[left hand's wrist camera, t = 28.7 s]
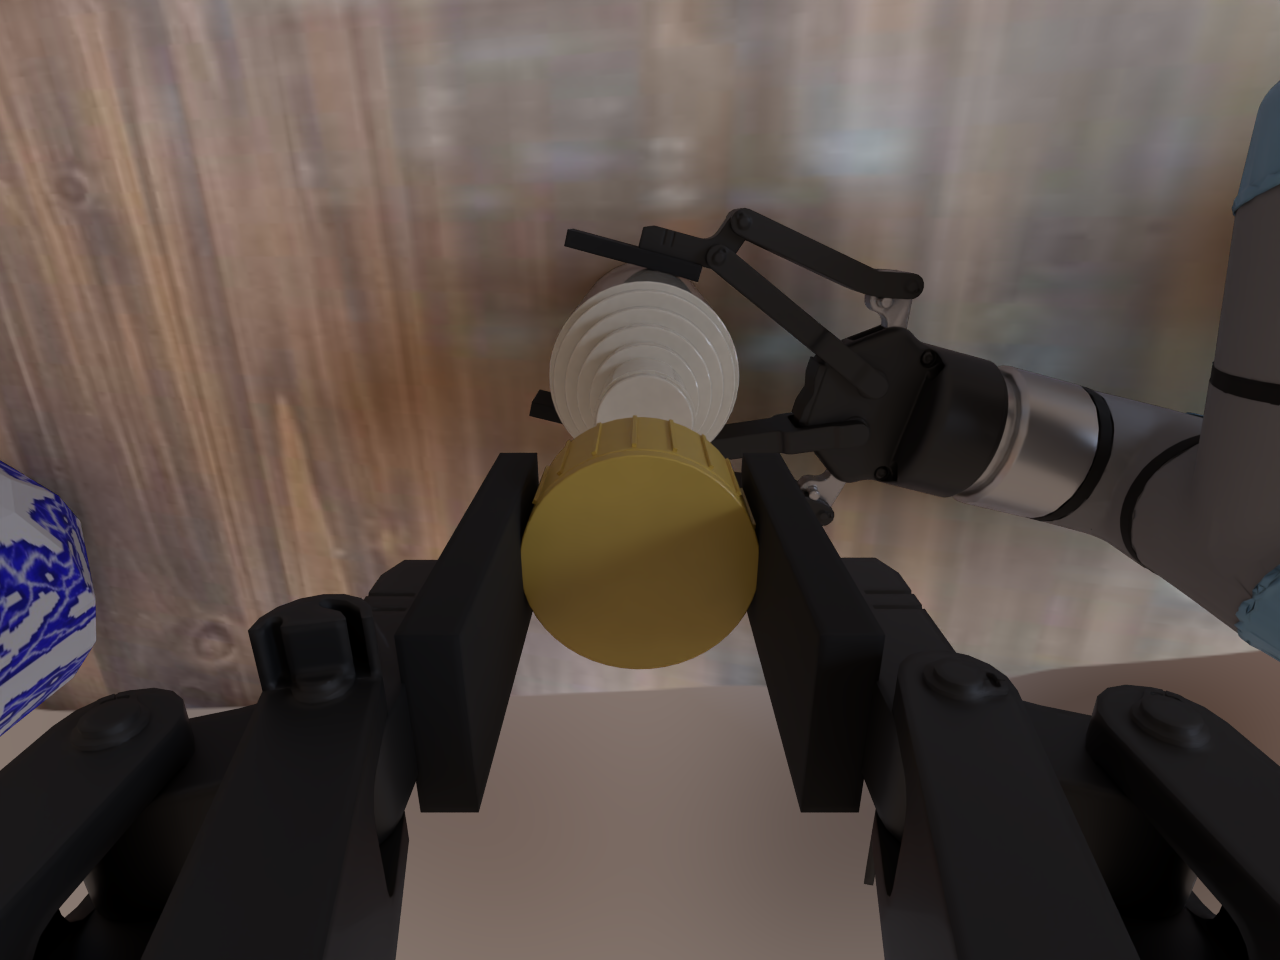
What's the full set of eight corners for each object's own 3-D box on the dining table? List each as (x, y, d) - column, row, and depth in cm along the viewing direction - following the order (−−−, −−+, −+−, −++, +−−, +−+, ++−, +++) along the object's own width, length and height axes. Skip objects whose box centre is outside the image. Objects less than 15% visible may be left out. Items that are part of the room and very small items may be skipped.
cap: (754, 417, 14) (776, 457, 11) (735, 608, 15) (751, 676, 13) (534, 408, 14) (513, 448, 11) (537, 601, 15) (519, 668, 13)
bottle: (661, 415, 43) (676, 573, 24) (555, 347, 41) (478, 457, 22) (734, 309, 41) (816, 389, 21) (624, 233, 39) (606, 246, 20)
